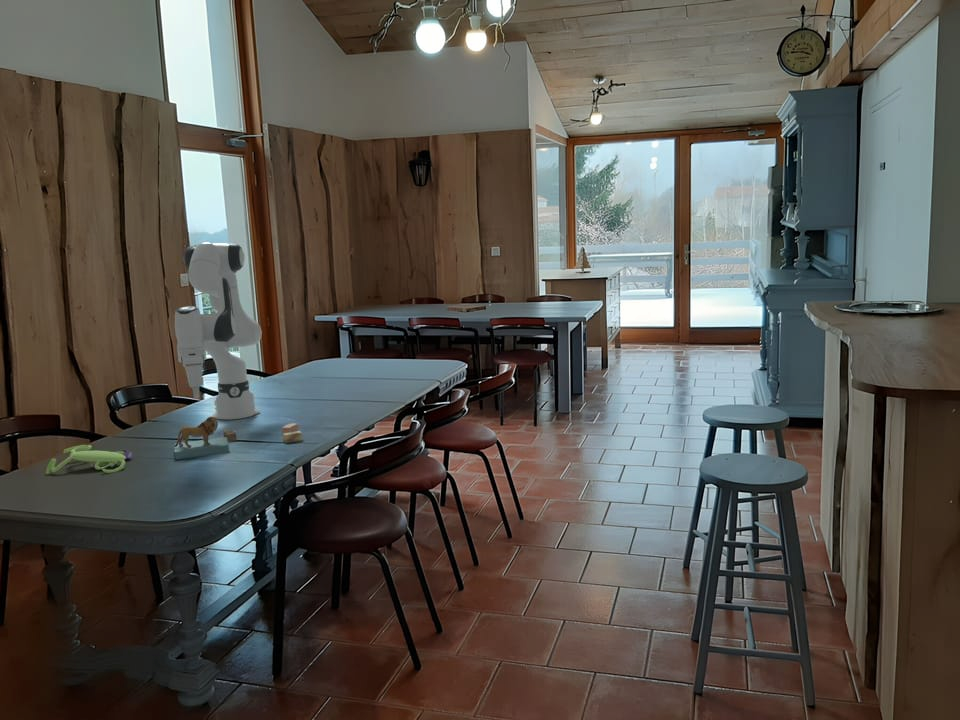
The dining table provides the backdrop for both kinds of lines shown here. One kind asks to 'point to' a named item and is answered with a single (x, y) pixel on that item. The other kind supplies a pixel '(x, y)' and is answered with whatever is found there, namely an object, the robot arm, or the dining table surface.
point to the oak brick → (292, 436)
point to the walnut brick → (230, 435)
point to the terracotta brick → (290, 428)
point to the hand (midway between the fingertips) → (196, 395)
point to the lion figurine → (198, 431)
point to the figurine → (93, 458)
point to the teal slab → (202, 448)
